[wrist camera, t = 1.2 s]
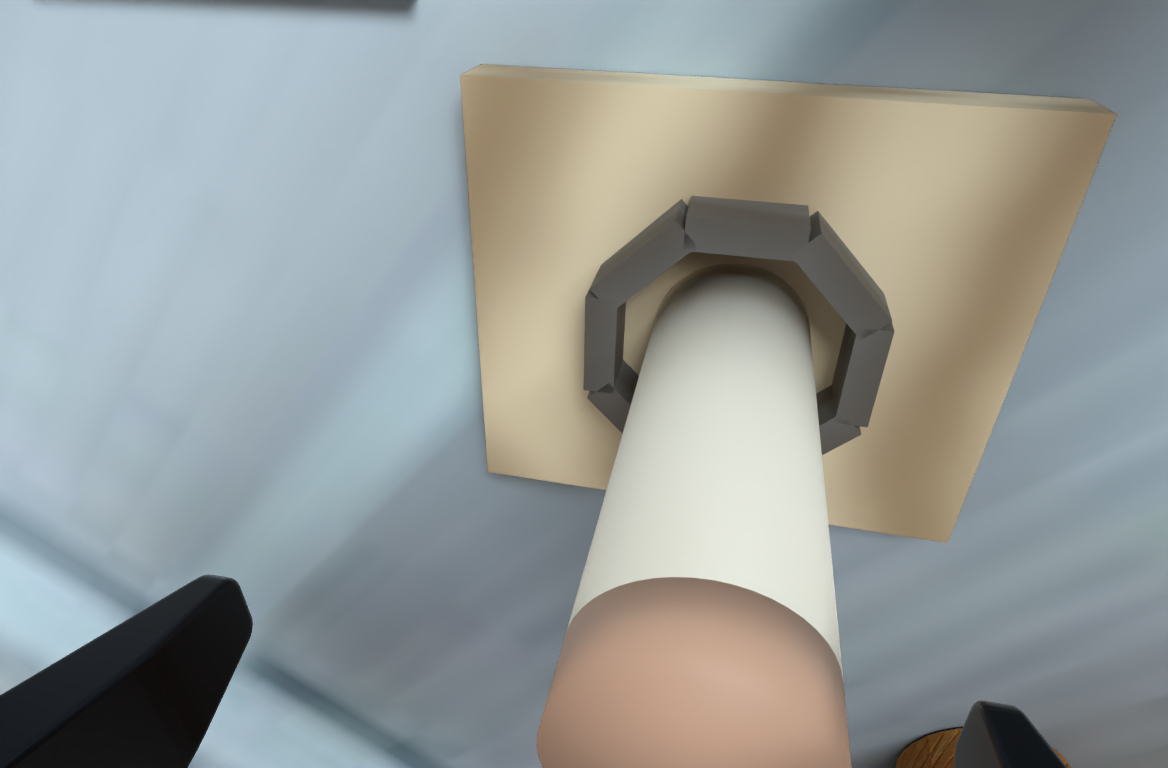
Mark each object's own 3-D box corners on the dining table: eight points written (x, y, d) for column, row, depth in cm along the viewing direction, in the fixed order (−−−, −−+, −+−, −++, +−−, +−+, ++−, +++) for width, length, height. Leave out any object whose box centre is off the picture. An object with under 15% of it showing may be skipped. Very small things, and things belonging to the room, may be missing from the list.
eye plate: (1090, 98, 16) (1148, 132, 14) (937, 508, 23) (958, 581, 20) (480, 63, 18) (435, 87, 16) (501, 444, 25) (472, 502, 22)
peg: (823, 271, 18) (889, 715, 8) (795, 407, 20) (819, 886, 10) (660, 255, 19) (533, 645, 9) (649, 388, 21) (539, 821, 11)
